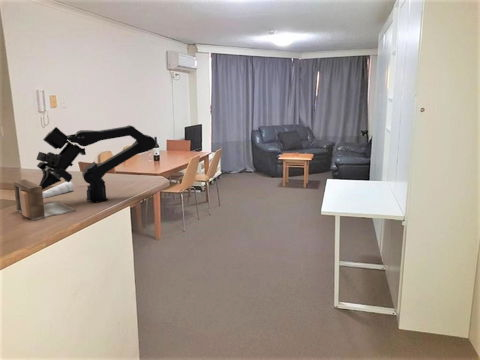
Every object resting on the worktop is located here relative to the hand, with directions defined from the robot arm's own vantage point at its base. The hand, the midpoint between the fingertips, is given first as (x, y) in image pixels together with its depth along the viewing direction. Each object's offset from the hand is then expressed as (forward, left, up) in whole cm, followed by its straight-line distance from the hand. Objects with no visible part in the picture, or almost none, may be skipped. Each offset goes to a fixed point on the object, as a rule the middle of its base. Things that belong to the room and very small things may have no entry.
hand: (39, 189), depth 143 cm
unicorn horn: (-10, -16, -8) cm, 21 cm away
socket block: (0, +4, -8) cm, 8 cm away
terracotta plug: (+5, +7, -7) cm, 11 cm away
